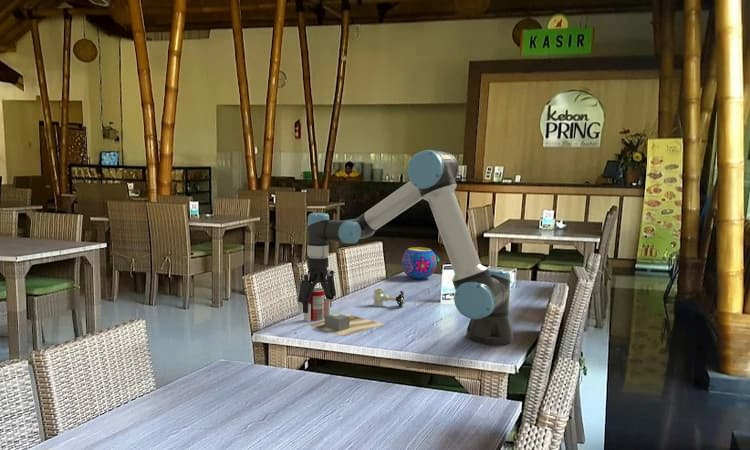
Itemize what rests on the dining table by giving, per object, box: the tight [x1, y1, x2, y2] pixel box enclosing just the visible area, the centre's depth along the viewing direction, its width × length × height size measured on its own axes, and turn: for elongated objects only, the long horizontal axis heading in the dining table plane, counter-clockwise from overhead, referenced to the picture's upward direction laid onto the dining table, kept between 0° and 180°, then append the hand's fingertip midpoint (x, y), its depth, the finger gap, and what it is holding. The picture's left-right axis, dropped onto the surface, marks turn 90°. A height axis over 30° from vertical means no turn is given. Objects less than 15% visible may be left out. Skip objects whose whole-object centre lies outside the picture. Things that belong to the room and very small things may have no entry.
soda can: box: [309, 287, 326, 322], centre depth 204 cm, size 6×6×12 cm
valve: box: [372, 288, 405, 308], centre depth 229 cm, size 7×7×12 cm
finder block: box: [324, 312, 350, 331], centre depth 193 cm, size 7×5×4 cm
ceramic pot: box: [401, 247, 440, 280], centre depth 287 cm, size 18×18×15 cm
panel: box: [307, 314, 386, 337], centre depth 197 cm, size 18×20×1 cm
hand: (317, 318), depth 205 cm, fingers open, 9 cm apart
